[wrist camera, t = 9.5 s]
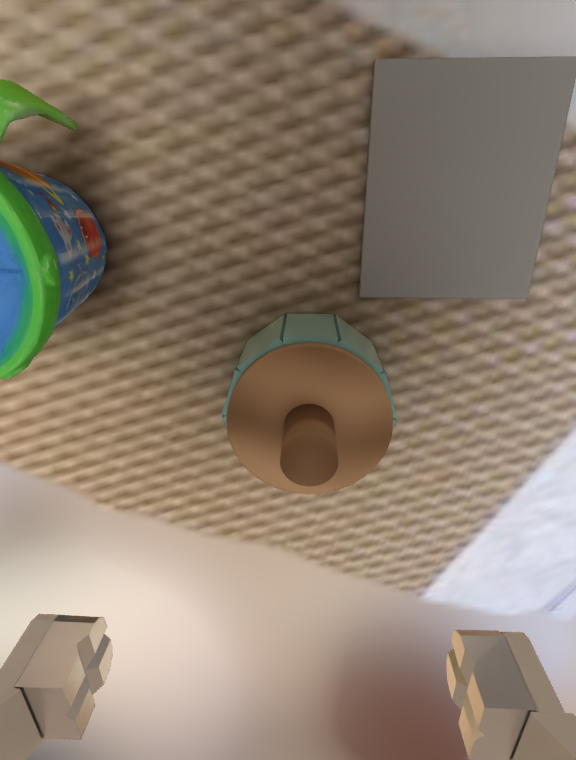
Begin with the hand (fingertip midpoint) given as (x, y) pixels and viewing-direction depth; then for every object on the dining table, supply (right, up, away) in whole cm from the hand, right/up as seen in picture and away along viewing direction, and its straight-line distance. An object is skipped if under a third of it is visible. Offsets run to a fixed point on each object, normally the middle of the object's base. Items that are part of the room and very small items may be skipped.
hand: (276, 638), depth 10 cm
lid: (+1, +4, +15) cm, 15 cm away
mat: (+10, +17, +14) cm, 24 cm away
